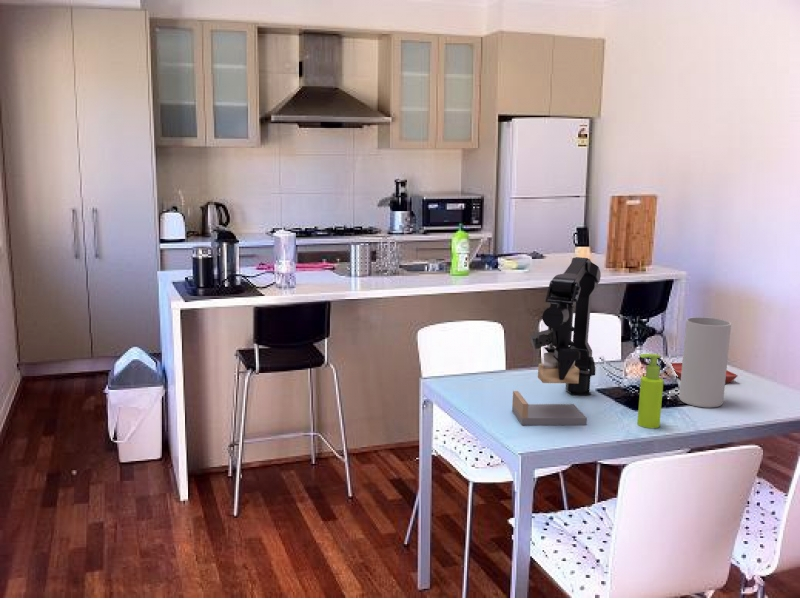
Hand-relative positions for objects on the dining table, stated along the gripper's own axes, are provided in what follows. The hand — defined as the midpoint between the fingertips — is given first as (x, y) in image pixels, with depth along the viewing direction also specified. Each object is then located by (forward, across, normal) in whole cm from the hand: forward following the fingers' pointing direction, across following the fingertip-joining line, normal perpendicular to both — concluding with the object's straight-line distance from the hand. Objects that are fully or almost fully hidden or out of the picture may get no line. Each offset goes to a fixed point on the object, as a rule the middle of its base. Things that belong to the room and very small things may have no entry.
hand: (558, 376), depth 218 cm
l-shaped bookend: (+12, +2, -2) cm, 12 cm away
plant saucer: (+11, -40, +60) cm, 73 cm away
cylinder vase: (+11, -13, +48) cm, 51 cm away
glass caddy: (+1, 0, 0) cm, 1 cm away
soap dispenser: (+12, +7, +24) cm, 27 cm away
